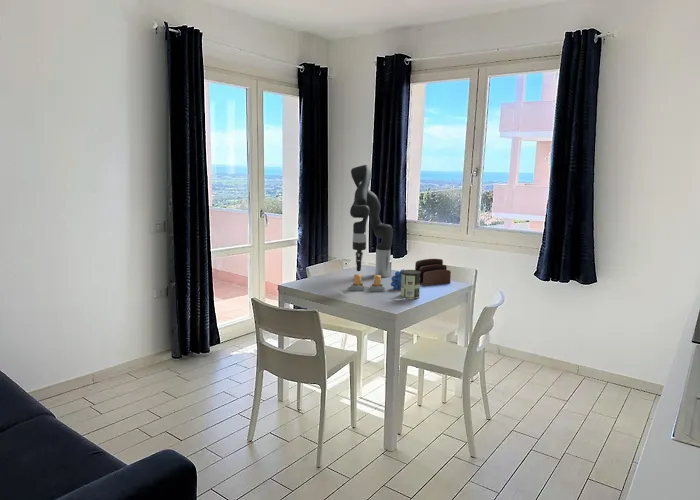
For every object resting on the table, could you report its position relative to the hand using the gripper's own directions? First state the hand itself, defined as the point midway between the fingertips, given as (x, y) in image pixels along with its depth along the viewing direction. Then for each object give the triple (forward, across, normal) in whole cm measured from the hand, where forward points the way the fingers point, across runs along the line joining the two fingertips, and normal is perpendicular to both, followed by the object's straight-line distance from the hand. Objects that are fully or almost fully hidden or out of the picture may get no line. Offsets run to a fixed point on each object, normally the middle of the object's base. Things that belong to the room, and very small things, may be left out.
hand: (358, 269), depth 287 cm
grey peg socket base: (+12, 0, +5) cm, 13 cm away
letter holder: (+13, -26, +44) cm, 53 cm away
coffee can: (+13, +10, +28) cm, 32 cm away
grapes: (+13, -5, +23) cm, 27 cm away
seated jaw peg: (+11, 0, +10) cm, 15 cm away
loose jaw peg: (+11, 0, -1) cm, 11 cm away
